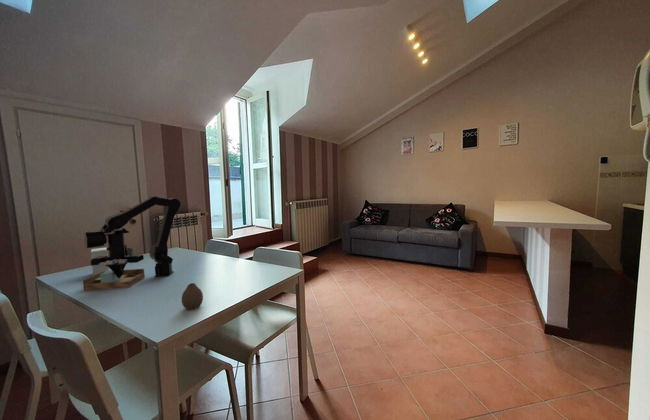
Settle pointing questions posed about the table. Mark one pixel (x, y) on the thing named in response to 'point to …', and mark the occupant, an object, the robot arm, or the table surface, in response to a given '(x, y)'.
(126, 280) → the box
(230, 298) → the table surface
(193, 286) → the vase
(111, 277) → the block
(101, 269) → the small box
